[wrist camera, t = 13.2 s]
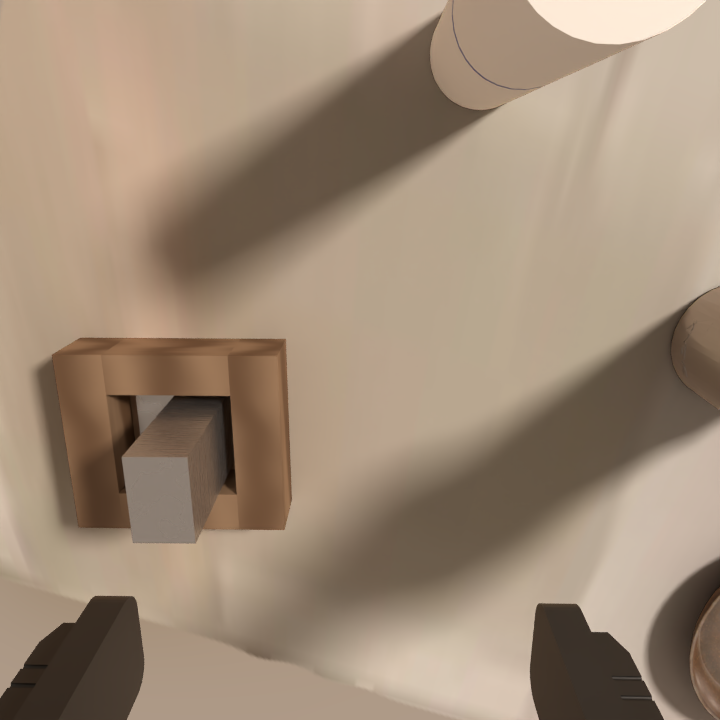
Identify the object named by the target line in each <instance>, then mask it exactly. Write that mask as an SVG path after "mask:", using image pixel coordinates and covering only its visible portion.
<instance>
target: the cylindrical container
mask: <svg viewBox="0 0 720 720" xmlns="http://www.w3.org/2000/svg"><path fill="white" fill-rule="evenodd" d="M705 1H706V0H448V2H447V4H446V7H445V9H444V11H443V13H442V15H441V18H440V20H439V22H438V24H437V27H436V29H435V31H434V33H433V37H432V41H431V46H430V63H431V70H432V73H433V76H434V79H435V81H436V83H437V84H438V86H439V88H440V89H441V91H442V92H443V93H444V94H445V95H446V97H448V98H449V99H450V100H451V101H453V102H454V103H456V104H458V105H460V106H462V107H465V108H468V109H472V110H486V109H492V108H496V107H498V106H500V105H503V104H505V103H508V102H510V101H512V100H514V99H517V98H519V97H521V96H523V95H526V94H528V93H530V92H532V91H534V90H536V89H539V88H541V87H543V86H545V85H547V84H550V83H552V82H554V81H556V80H558V79H561V78H563V77H565V76H567V75H570V74H572V73H574V72H576V71H579V70H581V69H583V68H585V67H588V66H590V65H592V64H594V63H597V62H599V61H601V60H603V59H605V58H608V57H610V56H612V55H614V54H616V53H619V52H621V51H623V50H625V49H627V48H630V47H632V46H634V45H636V44H638V43H641V42H643V41H645V40H647V39H649V38H652V37H654V36H656V35H658V34H660V33H663V32H665V31H667V30H669V29H670V28H672V27H673V26H675V25H676V24H678V23H680V22H681V21H683V20H684V19H686V18H687V17H689V16H690V15H691V14H692V13H693V12H694V11H695V10H696V9H698V8H699V7H700V6H701V5H702V4H703V3H704V2H705Z"/></svg>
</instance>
